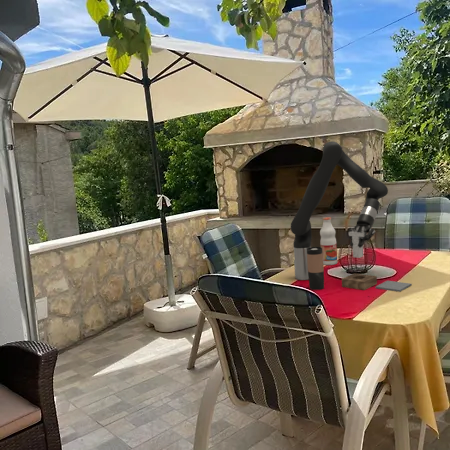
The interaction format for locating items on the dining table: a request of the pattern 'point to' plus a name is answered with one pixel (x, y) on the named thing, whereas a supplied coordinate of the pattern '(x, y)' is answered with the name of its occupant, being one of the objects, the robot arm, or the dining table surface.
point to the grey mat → (393, 286)
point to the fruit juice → (328, 242)
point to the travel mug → (315, 268)
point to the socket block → (359, 281)
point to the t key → (355, 240)
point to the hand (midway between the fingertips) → (355, 246)
